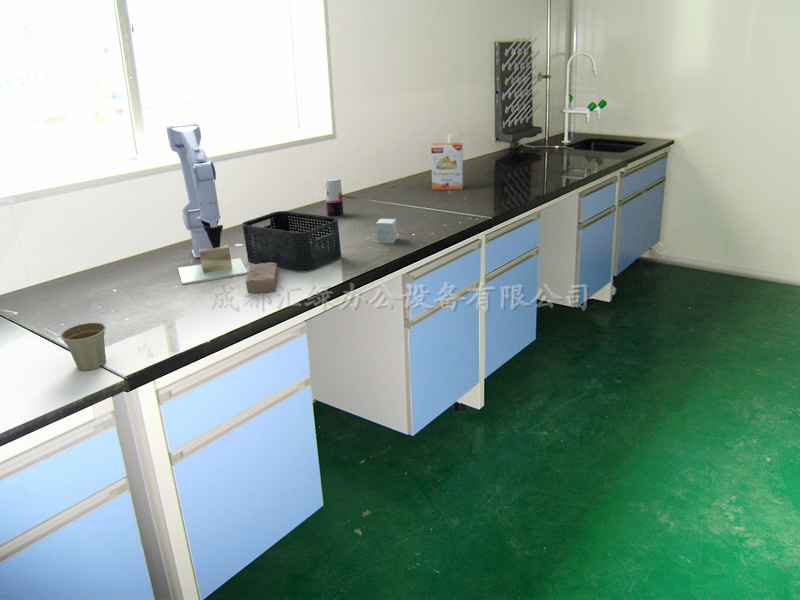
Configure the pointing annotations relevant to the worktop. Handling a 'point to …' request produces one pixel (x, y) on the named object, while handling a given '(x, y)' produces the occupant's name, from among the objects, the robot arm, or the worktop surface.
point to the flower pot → (86, 345)
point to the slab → (215, 258)
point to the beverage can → (334, 197)
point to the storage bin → (293, 241)
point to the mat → (196, 273)
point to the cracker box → (447, 166)
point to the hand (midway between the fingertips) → (214, 244)
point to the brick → (262, 278)
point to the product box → (386, 231)
